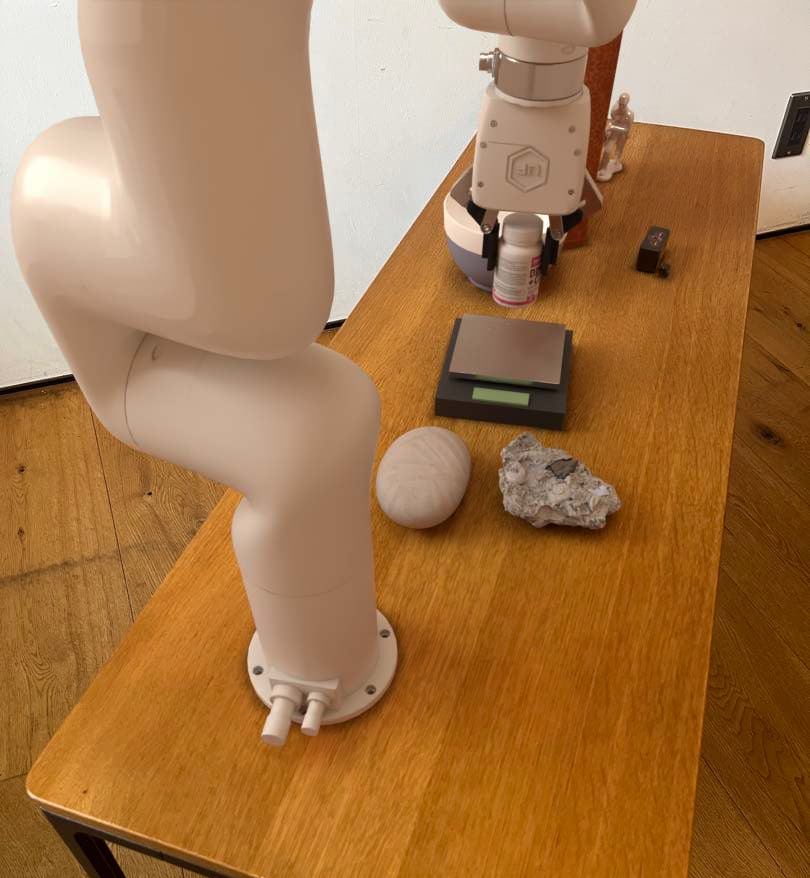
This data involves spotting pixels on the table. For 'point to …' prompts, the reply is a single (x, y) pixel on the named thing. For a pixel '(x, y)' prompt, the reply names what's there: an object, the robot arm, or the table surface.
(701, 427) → the table surface
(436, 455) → the decorative stone
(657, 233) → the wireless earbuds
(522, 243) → the pill bottle
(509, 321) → the scale pan
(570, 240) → the book
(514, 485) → the mineral specimen
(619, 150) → the figurine
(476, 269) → the bowl
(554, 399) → the scale
